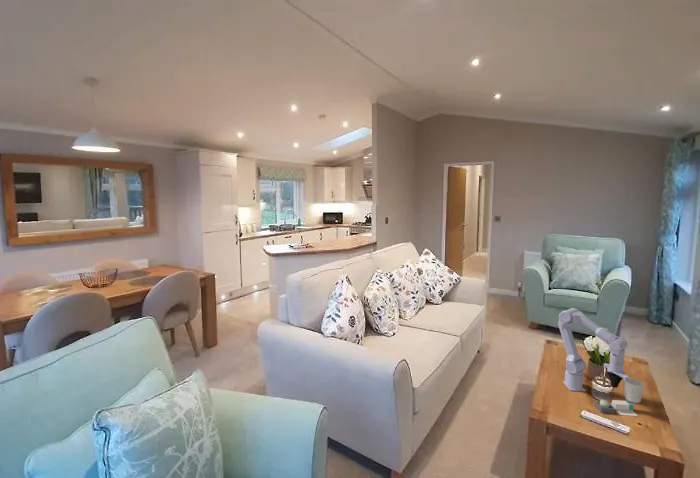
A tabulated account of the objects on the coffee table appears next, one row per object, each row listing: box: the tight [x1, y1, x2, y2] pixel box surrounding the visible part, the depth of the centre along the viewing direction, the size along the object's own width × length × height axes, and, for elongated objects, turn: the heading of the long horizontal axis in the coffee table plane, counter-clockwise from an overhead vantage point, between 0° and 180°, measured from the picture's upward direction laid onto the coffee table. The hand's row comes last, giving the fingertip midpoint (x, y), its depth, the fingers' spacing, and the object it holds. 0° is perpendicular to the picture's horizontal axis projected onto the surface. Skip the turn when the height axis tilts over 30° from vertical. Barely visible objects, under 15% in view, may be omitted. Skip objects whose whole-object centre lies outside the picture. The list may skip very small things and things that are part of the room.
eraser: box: [611, 399, 635, 412], centre depth 180 cm, size 8×3×3 cm, turn 84°
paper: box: [611, 404, 639, 417], centre depth 179 cm, size 8×8×1 cm
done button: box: [599, 399, 611, 408], centre depth 180 cm, size 4×4×3 cm
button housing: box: [594, 400, 616, 414], centre depth 180 cm, size 6×6×2 cm
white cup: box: [623, 377, 645, 404], centre depth 188 cm, size 8×8×10 cm
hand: (614, 386), depth 183 cm, fingers closed
